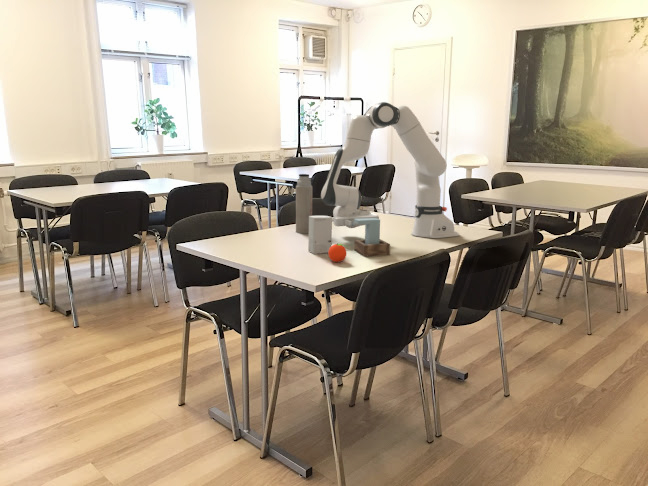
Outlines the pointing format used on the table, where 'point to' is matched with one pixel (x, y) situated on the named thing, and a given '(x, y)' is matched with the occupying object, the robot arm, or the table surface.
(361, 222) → the bracket
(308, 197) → the thermos bottle
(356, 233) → the table surface
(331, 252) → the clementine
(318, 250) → the skincare box
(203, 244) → the table surface
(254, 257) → the table surface
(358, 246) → the well block
